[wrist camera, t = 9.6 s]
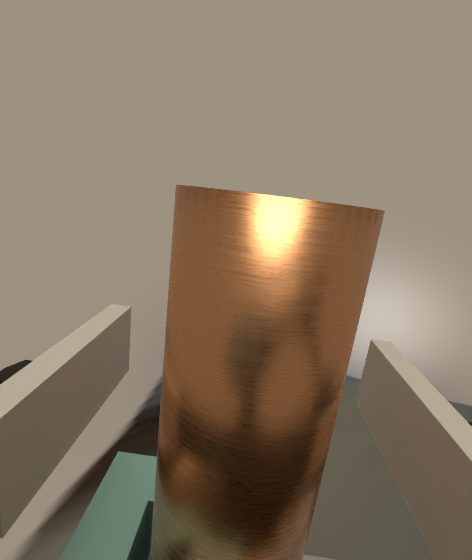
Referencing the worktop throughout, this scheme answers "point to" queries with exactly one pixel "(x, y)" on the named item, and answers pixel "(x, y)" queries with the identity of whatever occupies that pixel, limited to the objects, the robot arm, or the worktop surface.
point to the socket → (118, 513)
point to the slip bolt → (253, 368)
